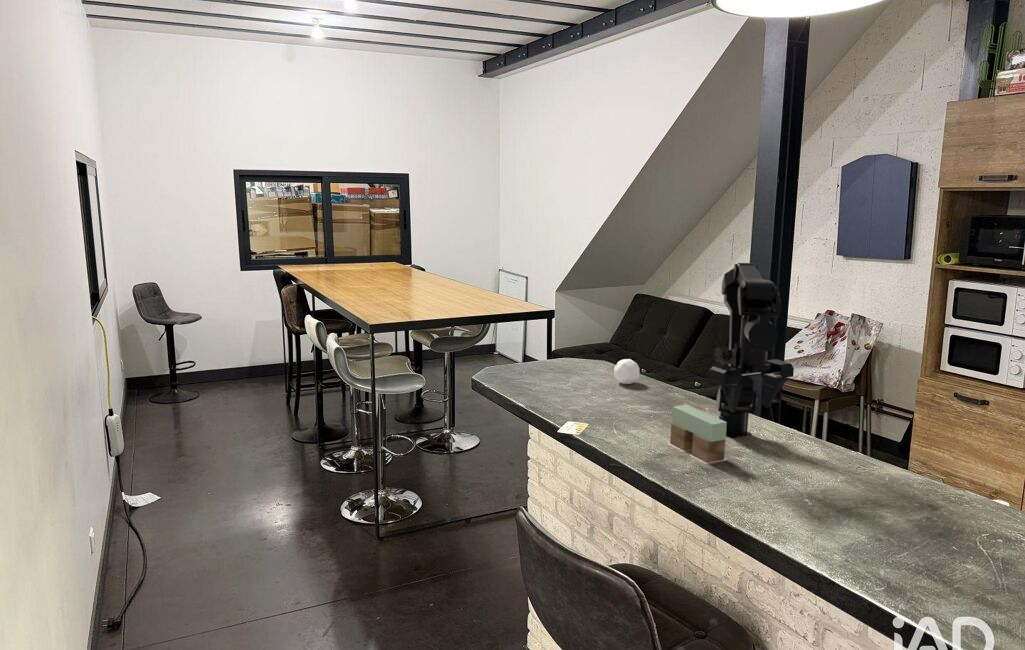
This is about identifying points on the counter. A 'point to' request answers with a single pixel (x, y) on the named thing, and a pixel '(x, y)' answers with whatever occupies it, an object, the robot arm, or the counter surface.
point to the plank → (699, 423)
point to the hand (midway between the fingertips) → (749, 409)
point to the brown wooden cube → (681, 437)
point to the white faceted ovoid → (626, 371)
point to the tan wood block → (708, 449)
